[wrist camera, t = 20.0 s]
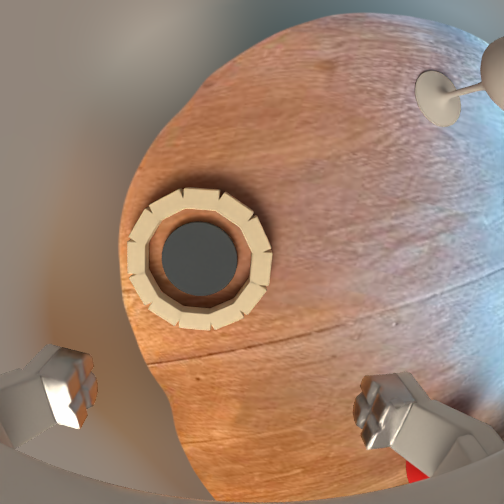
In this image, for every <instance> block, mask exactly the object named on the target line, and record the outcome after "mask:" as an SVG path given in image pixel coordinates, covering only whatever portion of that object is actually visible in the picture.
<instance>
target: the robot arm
mask: <svg viewBox="0 0 504 504" xmlns="http://www.w3.org/2000/svg"><path fill="white" fill-rule="evenodd" d="M93 367H94V364H93V358H92V356H91V355H90V354H87V353H83V352H79V351H75V350H71V349H67V348H63V347H59V346H55V345H51V344H49V345H46V346H45V347H44V348H43V349H42V350H41V351H40V352H39V353H38V354H37V355H36V356H35V357H34V358H33V359H32V360H31V361H30V362H29V363H28V365H26V367H25V368H24V369H23V370H22V369H16V370H13V371H10V372H7V373H4V374H1V375H0V504H504V441H503V440H502V439H501V438H500V436H499V435H498V434H497V433H496V431H495V430H494V429H493V428H492V427H491V426H490V425H488V424H486V423H484V422H482V421H479V420H477V419H475V418H473V417H471V416H468V415H466V414H464V413H462V412H460V411H458V410H456V409H453V408H451V407H449V406H447V405H445V404H443V403H441V402H439V401H437V400H431V399H430V398H429V397H428V395H427V394H426V393H425V391H424V390H423V389H422V388H421V386H420V385H419V384H418V382H417V381H416V380H415V378H414V377H413V376H412V375H411V373H409V372H399V373H393V374H383V375H367V376H365V377H364V378H363V379H362V382H361V385H360V387H361V389H362V392H361V393H360V394H359V395H358V396H357V397H356V399H355V402H354V405H353V417H354V421H355V423H356V425H357V426H358V427H360V428H361V429H363V430H362V432H361V437H362V440H363V442H364V444H365V447H366V449H367V450H368V449H377V448H384V447H391V446H392V447H391V448H392V449H393V450H395V451H396V452H397V453H398V454H400V455H401V456H402V457H404V458H405V459H406V460H407V461H409V462H410V463H411V464H413V465H414V466H415V467H416V468H418V469H419V470H420V471H422V472H423V473H424V474H426V475H427V476H428V477H430V478H427V479H424V480H420V481H417V482H413V483H409V484H405V485H401V486H397V487H393V488H388V489H384V490H379V491H374V492H369V493H363V494H357V495H351V496H345V497H337V498H329V499H320V500H309V501H295V502H267V503H253V502H225V501H211V500H200V499H190V498H182V497H175V496H168V495H162V494H156V493H150V492H145V491H140V490H135V489H131V488H126V487H122V486H118V485H114V484H110V483H106V482H103V481H99V480H95V479H92V478H89V477H85V476H82V475H79V474H76V473H73V472H70V471H67V470H64V469H61V468H59V467H56V466H53V465H51V464H48V463H45V462H43V461H40V460H38V459H36V458H33V457H30V456H29V455H26V454H24V453H22V452H20V451H17V450H15V449H16V448H17V447H19V446H21V445H23V444H24V443H26V442H28V441H29V440H31V439H32V438H34V437H36V436H38V435H39V434H41V433H42V432H44V431H45V430H47V429H49V428H50V427H52V426H54V425H55V424H56V423H59V424H63V425H66V426H69V427H73V428H77V429H81V427H82V425H83V423H84V421H85V419H86V418H87V416H88V415H87V411H86V409H88V408H90V407H92V406H93V405H94V403H95V401H96V397H97V392H98V384H97V378H96V377H95V375H94V374H93V373H92V372H91V370H92V369H93Z"/></svg>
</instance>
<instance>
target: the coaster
mask: <svg viewBox="0 0 504 504" xmlns="http://www.w3.org/2000/svg"><path fill="white" fill-rule="evenodd" d="M162 264H163V268H164V271H165V274H166V276H167V277H168V279H169V280H170V281H171V283H172V284H173V285H174V286H175V287H177V288H178V289H179V290H181V291H183V292H185V293H187V294H191V295H196V296H206V295H211V294H214V293H217V292H218V291H220V290H222V289H223V288H225V287H226V286H227V285H228V284H229V282H230V281H231V280H232V278H233V276H234V274H235V271H236V268H237V252H236V248H235V245H234V243H233V241H232V239H231V238H230V237H229V235H228V234H227V233H226V232H225V231H224V230H222V229H221V228H219V227H218V226H216V225H214V224H211V223H208V222H190V223H187V224H184V225H182V226H180V227H178V228H177V229H176V230H175V231H173V232H172V233H171V235H170V236H169V237H168V239H167V240H166V242H165V244H164V247H163V251H162Z"/></svg>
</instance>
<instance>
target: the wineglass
mask: <svg viewBox="0 0 504 504" xmlns="http://www.w3.org/2000/svg"><path fill="white" fill-rule="evenodd" d="M480 71H481V79H482V81H481V82H480V83H478V84H475V85H472V86H468V87H465V88H461V89H458V90H456V88H455V86H454V85H453V83H452V82H451V81H450V80H449V79H448V78H447V77H446V76H444V75H443V74H441V73H439V72H436V71H427V72H424V73H423V74H421V75H420V76H419V77H418V79H417V81H416V84H415V97H416V101H417V104H418V106H419V108H420V110H421V112H422V113H423V115H424V116H425V117H426V118H427V119H428V120H429V121H430V122H432V123H433V124H435V125H437V126H441V127H447V126H450V125H453V124H454V123H455V122H456V121H457V119H458V118H459V115H460V111H461V103H460V98H459V96H460V95H464V94H468V93H472V92H476V91H480V90H485V91H486V92H487V93H488V95H489V96H490V98H491V99H492V100H493V101H494V103H496V104H497V105H498V106H499V107H500V108H501V109H502V110H504V37H501V38H499V39H497V40H495V41H494V42H493V43H491V44H490V45H489V46H488V47H487V49H486V50H485V52H484V54H483V56H482V61H481V68H480Z"/></svg>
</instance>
